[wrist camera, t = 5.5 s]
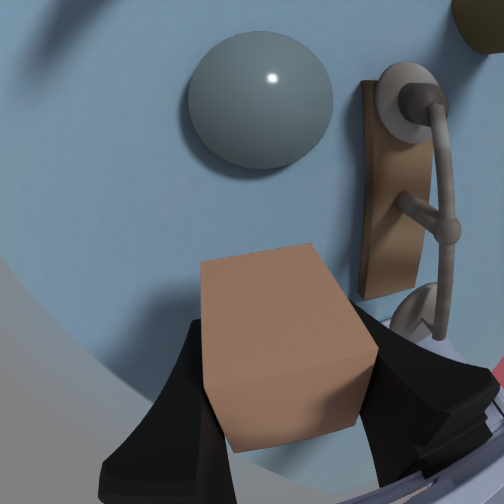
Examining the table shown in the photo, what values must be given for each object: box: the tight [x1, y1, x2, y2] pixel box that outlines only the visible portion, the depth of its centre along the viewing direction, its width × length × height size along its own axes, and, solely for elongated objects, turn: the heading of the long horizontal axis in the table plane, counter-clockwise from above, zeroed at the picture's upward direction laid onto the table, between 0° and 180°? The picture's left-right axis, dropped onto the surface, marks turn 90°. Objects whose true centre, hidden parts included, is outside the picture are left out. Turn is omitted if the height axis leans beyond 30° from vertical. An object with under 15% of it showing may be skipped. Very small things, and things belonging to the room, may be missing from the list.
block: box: [201, 243, 378, 453], centre depth 11 cm, size 4×4×6 cm
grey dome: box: [188, 31, 333, 169], centre depth 15 cm, size 8×8×1 cm
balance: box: [358, 62, 461, 344], centre depth 16 cm, size 19×5×8 cm, turn 7°
